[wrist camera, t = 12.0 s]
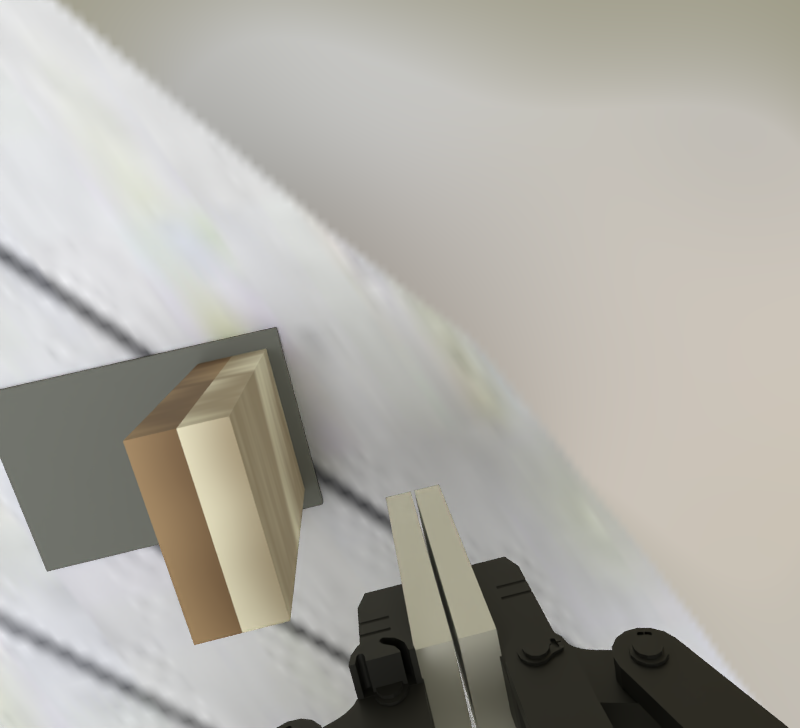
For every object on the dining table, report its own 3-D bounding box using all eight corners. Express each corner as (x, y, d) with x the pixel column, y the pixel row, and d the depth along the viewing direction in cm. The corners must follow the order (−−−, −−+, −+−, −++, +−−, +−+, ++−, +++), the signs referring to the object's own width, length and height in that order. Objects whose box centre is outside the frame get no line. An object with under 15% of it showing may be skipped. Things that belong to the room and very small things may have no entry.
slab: (240, 504, 32) (194, 645, 21) (197, 364, 30) (122, 440, 19) (304, 489, 32) (290, 620, 21) (266, 348, 30) (229, 416, 20)
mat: (50, 567, 32) (46, 571, 32) (-21, 394, 30) (-25, 396, 29) (322, 500, 33) (322, 504, 32) (276, 327, 30) (275, 328, 30)
